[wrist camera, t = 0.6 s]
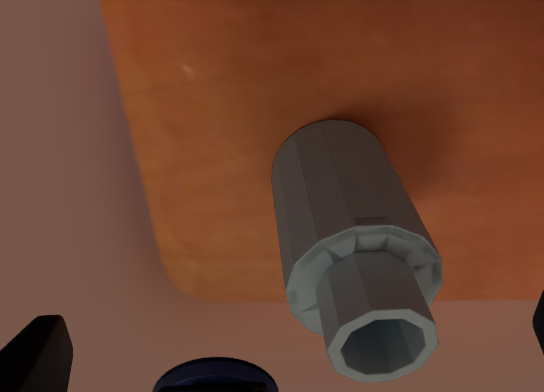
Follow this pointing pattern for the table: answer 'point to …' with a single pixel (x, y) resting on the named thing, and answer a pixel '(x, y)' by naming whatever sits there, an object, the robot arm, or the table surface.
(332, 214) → the bottle
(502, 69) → the table surface
